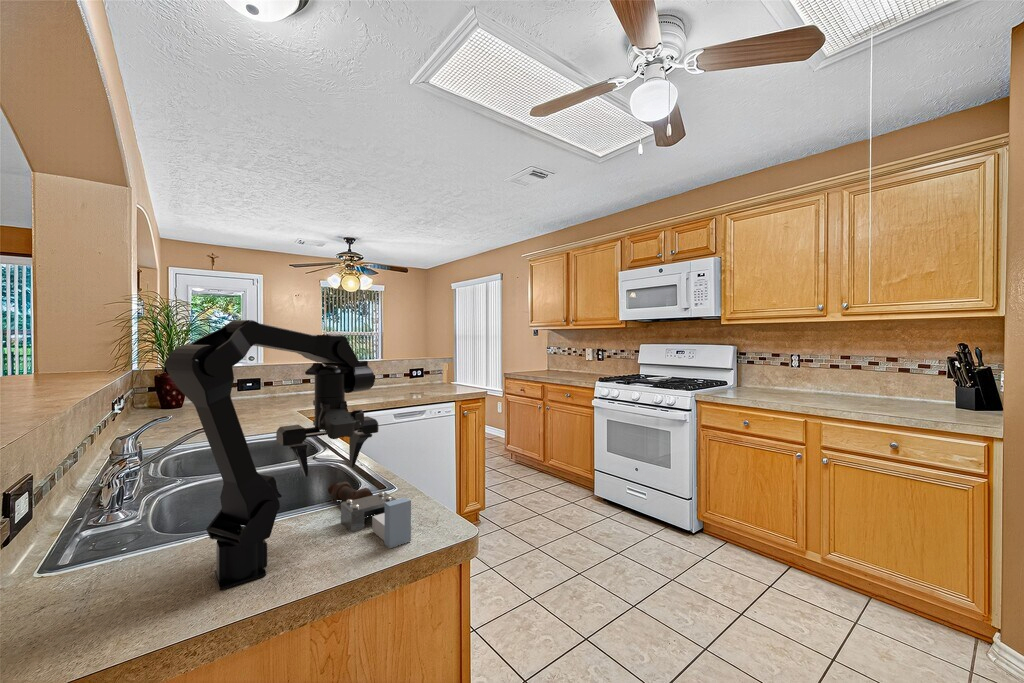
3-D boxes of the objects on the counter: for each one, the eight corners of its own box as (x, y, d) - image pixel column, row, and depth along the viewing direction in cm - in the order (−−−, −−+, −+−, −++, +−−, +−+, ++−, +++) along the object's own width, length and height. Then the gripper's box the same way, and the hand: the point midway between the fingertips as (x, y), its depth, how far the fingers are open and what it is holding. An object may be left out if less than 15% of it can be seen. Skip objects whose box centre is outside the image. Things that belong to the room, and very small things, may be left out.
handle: (389, 548, 81) (389, 506, 81) (369, 532, 88) (370, 492, 88) (410, 541, 84) (411, 500, 84) (390, 526, 91) (390, 488, 91)
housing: (351, 532, 88) (351, 508, 88) (340, 522, 93) (340, 500, 93) (397, 518, 95) (397, 497, 95) (385, 510, 99) (385, 489, 99)
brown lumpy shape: (336, 502, 109) (367, 517, 99) (319, 497, 106) (348, 512, 96) (347, 479, 111) (378, 492, 101) (330, 473, 108) (360, 485, 98)
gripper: (290, 405, 77) (290, 493, 77) (389, 396, 89) (389, 471, 89) (275, 398, 85) (275, 477, 85) (367, 390, 97) (367, 460, 97)
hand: (329, 471), depth 89 cm, fingers open, 9 cm apart
